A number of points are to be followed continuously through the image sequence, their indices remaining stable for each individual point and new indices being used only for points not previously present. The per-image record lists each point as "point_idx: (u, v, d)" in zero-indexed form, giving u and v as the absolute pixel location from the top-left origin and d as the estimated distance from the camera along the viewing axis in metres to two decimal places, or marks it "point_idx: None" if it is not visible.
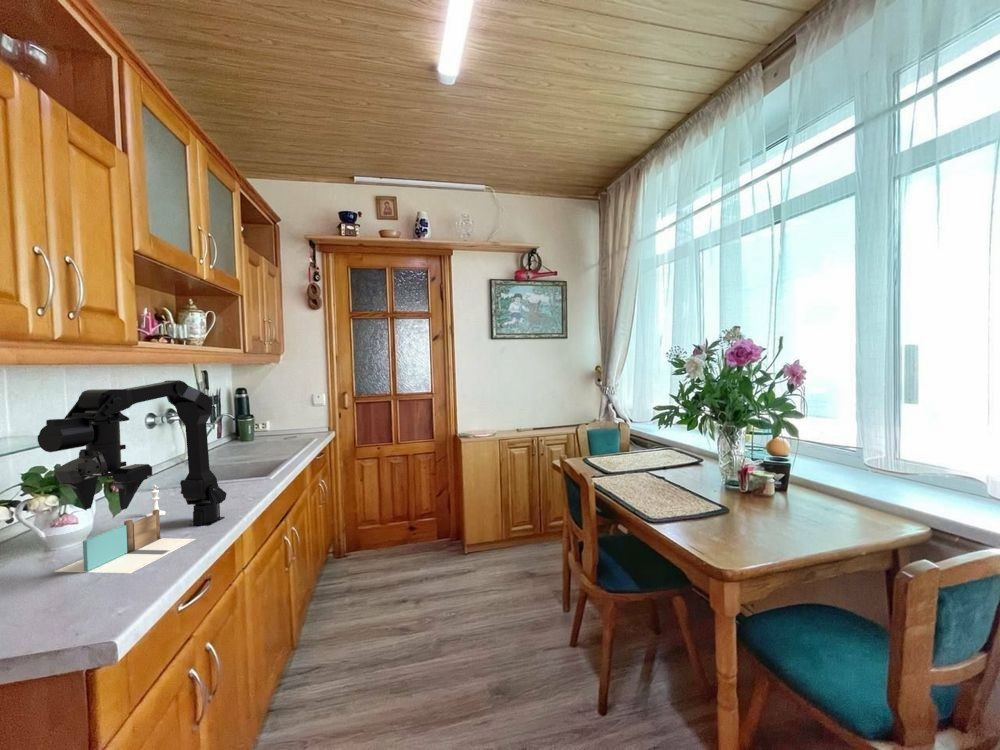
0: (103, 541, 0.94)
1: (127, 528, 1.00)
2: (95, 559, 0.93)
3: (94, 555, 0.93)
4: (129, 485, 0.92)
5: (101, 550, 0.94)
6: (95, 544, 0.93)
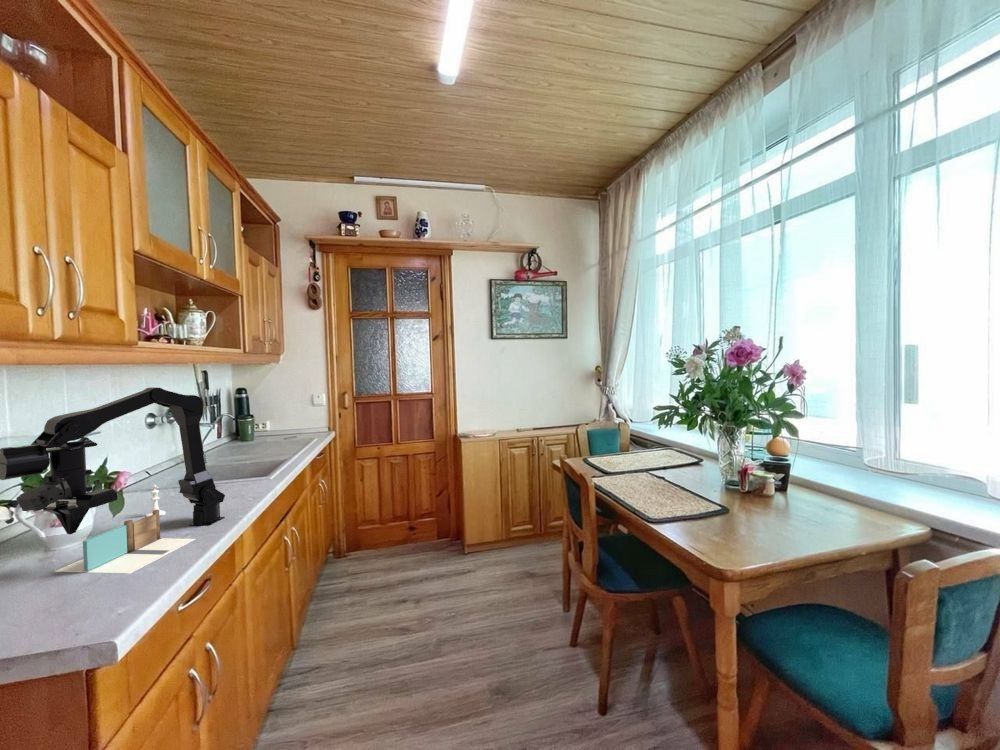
0: (103, 541, 0.94)
1: (127, 528, 1.00)
2: (95, 559, 0.93)
3: (94, 555, 0.93)
4: (77, 510, 0.94)
5: (101, 550, 0.94)
6: (95, 544, 0.93)
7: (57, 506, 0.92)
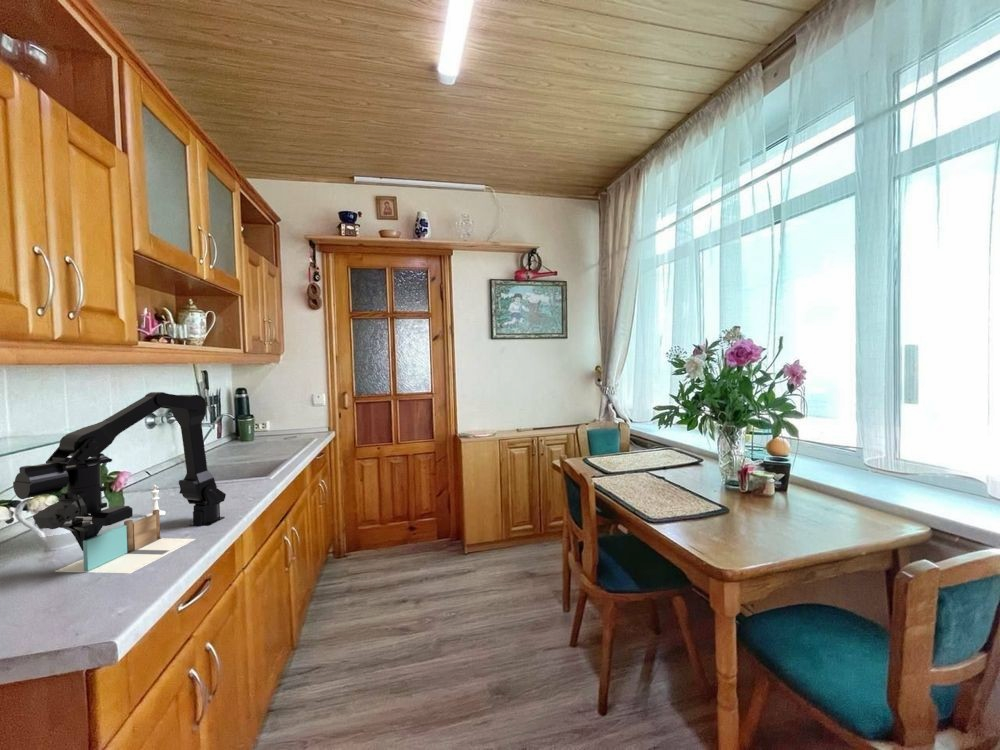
0: (103, 541, 0.94)
1: (127, 528, 1.00)
2: (95, 559, 0.93)
3: (94, 555, 0.93)
4: (91, 527, 0.93)
5: (101, 550, 0.94)
6: (95, 544, 0.93)
7: (73, 523, 0.91)
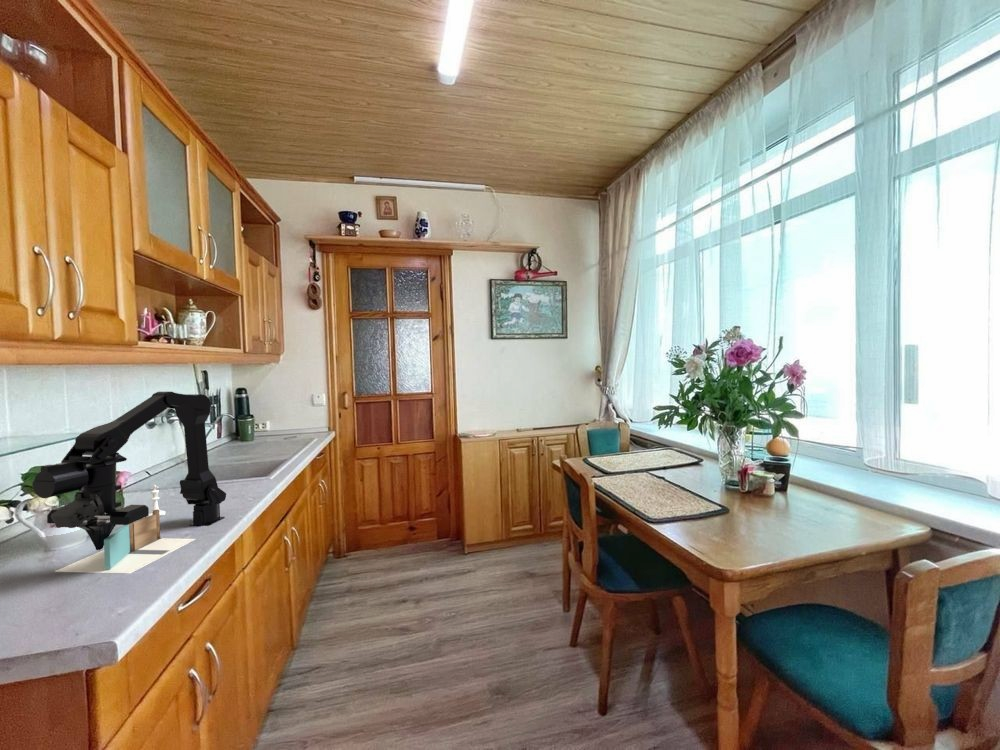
0: (117, 540, 0.95)
1: None
2: (114, 557, 0.93)
3: (113, 553, 0.93)
4: (105, 526, 0.93)
5: (116, 548, 0.95)
6: (113, 542, 0.94)
7: (88, 522, 0.91)
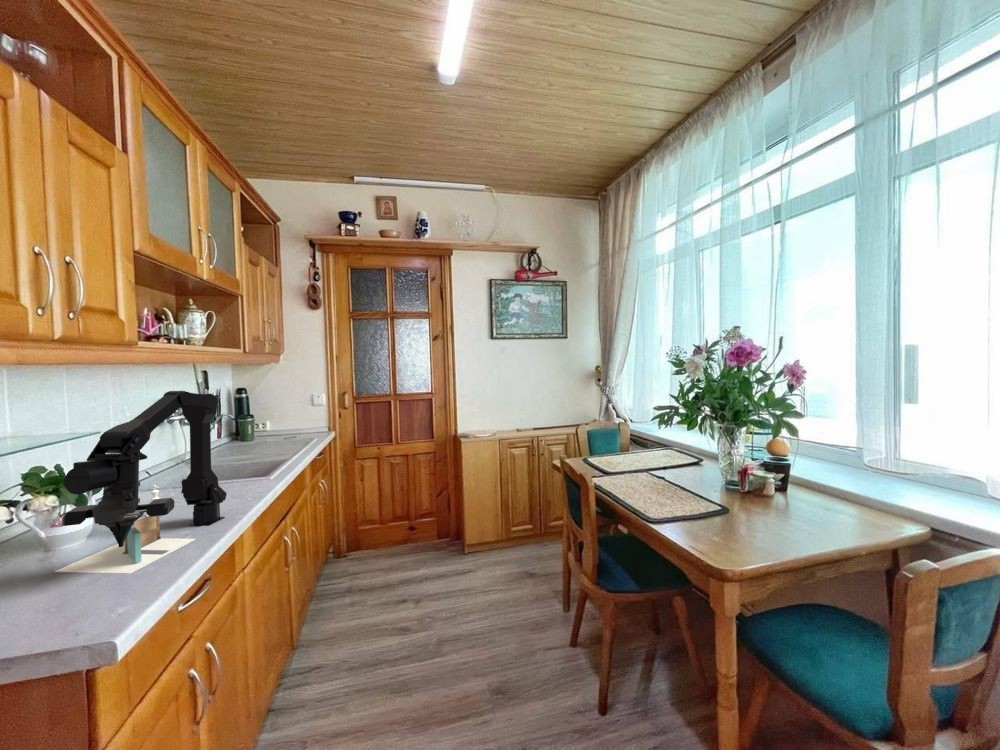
0: None
1: None
2: None
3: None
4: None
5: None
6: None
7: None
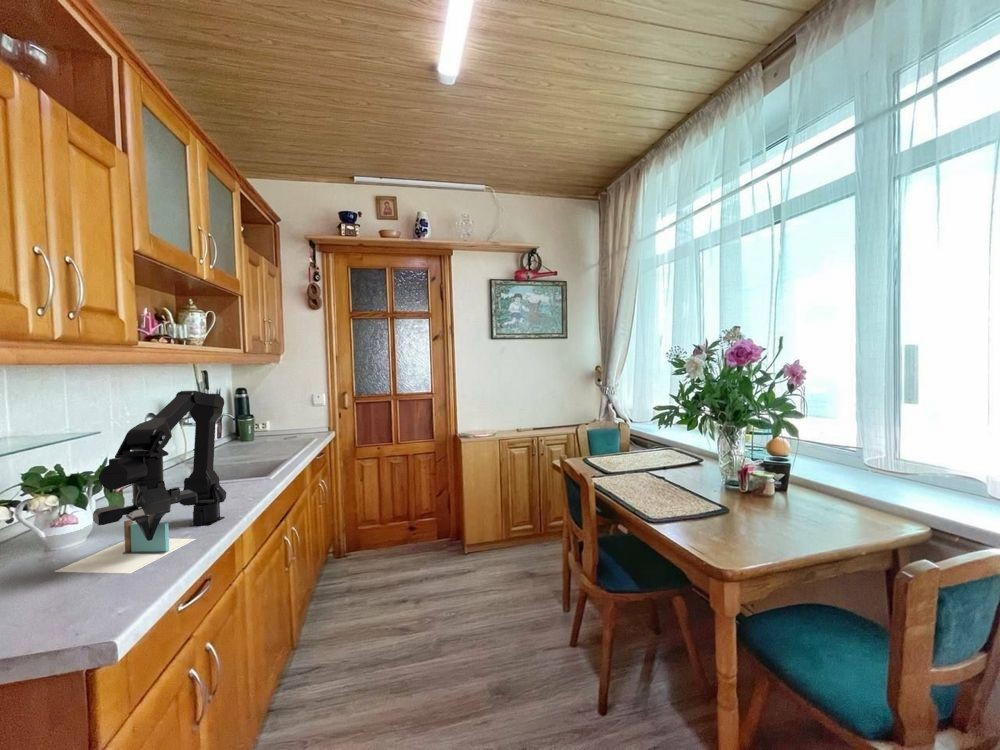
0: None
1: (127, 528, 1.00)
2: None
3: None
4: None
5: None
6: None
7: (145, 514, 0.96)
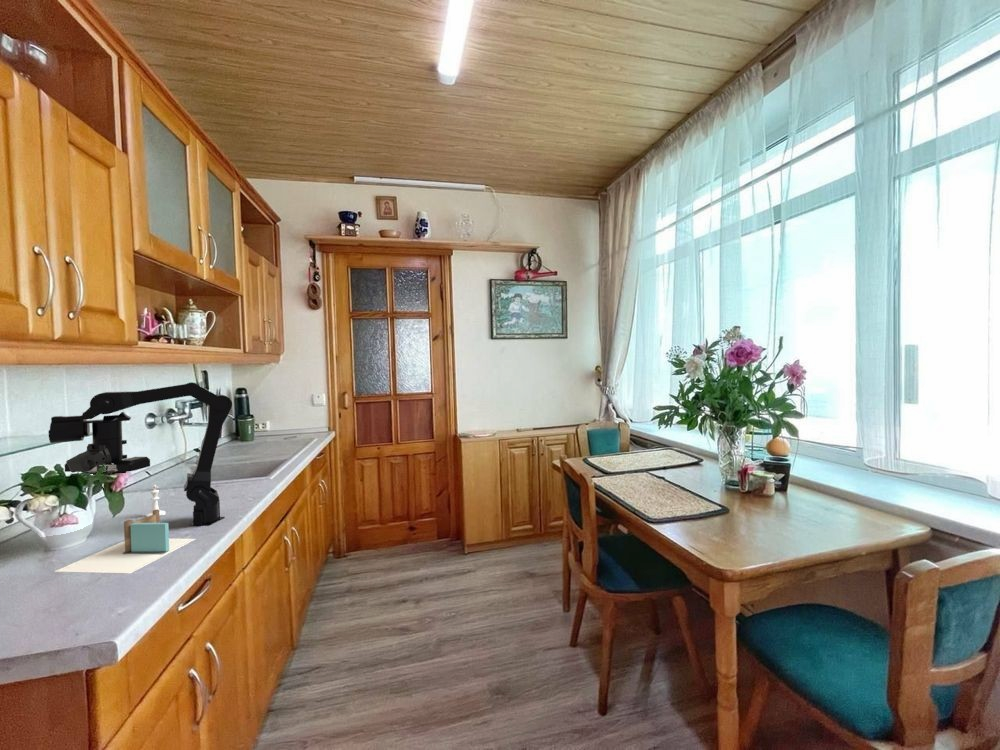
0: None
1: (127, 528, 1.00)
2: None
3: None
4: None
5: None
6: None
7: None
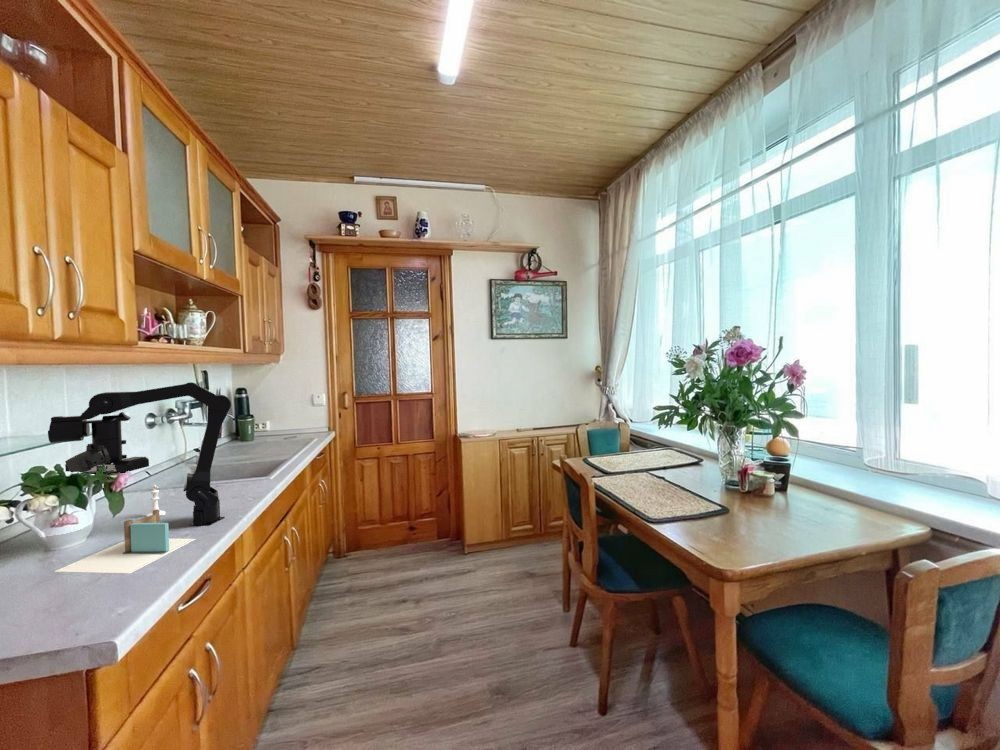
0: None
1: (127, 528, 1.00)
2: None
3: None
4: None
5: None
6: None
7: (97, 470, 1.06)
